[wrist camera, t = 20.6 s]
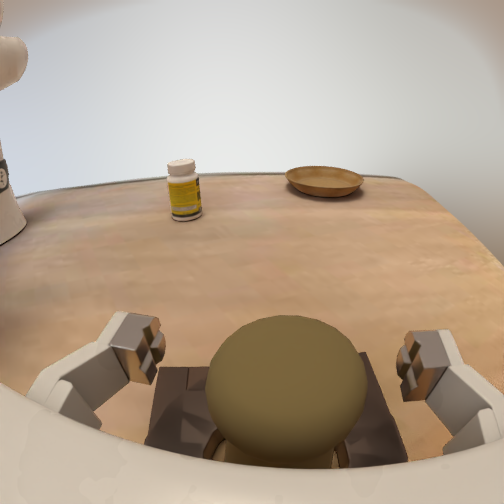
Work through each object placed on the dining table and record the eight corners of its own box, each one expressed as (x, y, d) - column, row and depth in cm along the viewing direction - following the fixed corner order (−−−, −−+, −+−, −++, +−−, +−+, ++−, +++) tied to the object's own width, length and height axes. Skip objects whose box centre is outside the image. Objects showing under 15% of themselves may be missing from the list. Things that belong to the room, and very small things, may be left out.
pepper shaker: (202, 464, 14) (147, 344, 8) (279, 411, 17) (288, 270, 12) (272, 535, 10) (287, 500, 4) (350, 467, 13) (426, 347, 8)
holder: (146, 572, 7) (132, 572, 6) (164, 381, 19) (157, 364, 18) (416, 543, 8) (433, 538, 7) (360, 367, 20) (366, 349, 19)
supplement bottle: (206, 217, 44) (200, 162, 40) (174, 224, 42) (167, 168, 38) (197, 207, 48) (192, 156, 44) (169, 213, 46) (162, 161, 42)
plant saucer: (277, 197, 51) (277, 182, 49) (292, 175, 63) (292, 163, 61) (364, 206, 47) (365, 191, 45) (361, 181, 59) (362, 169, 57)
